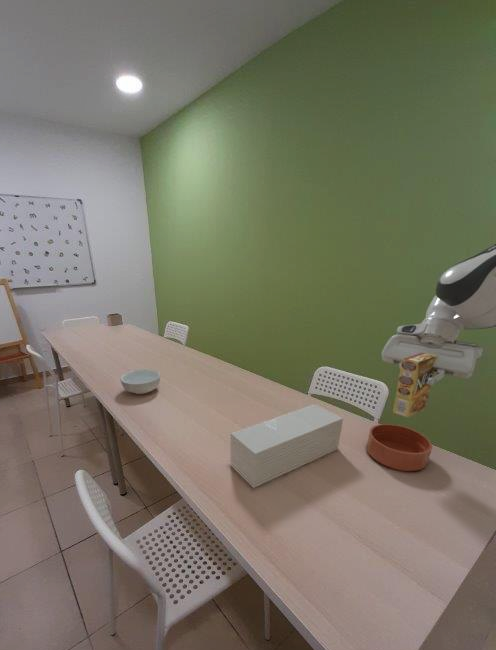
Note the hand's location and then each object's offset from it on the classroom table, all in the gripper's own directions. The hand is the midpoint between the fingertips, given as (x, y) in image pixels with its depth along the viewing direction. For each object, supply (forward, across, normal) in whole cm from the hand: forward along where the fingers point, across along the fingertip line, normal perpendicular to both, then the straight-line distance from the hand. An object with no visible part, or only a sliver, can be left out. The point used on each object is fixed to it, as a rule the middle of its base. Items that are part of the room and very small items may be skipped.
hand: (414, 382), depth 78 cm
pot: (+16, 0, -17) cm, 23 cm away
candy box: (+6, 0, -6) cm, 9 cm away
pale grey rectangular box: (+32, +22, -1) cm, 39 cm away
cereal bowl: (+35, +94, +1) cm, 101 cm away
